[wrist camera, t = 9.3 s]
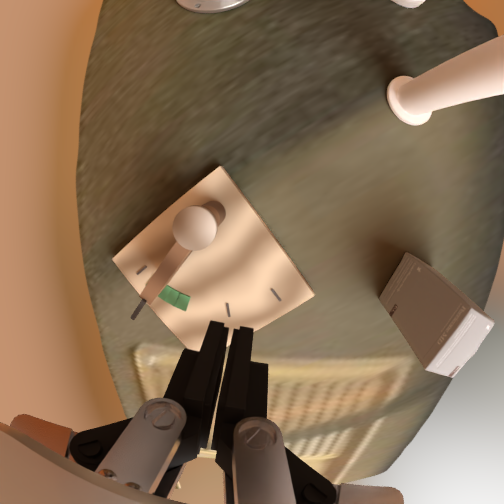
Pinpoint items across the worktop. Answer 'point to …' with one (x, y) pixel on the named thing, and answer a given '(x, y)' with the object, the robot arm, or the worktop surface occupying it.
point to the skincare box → (434, 316)
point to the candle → (449, 83)
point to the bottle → (409, 3)
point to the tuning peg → (184, 245)
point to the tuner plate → (217, 268)
